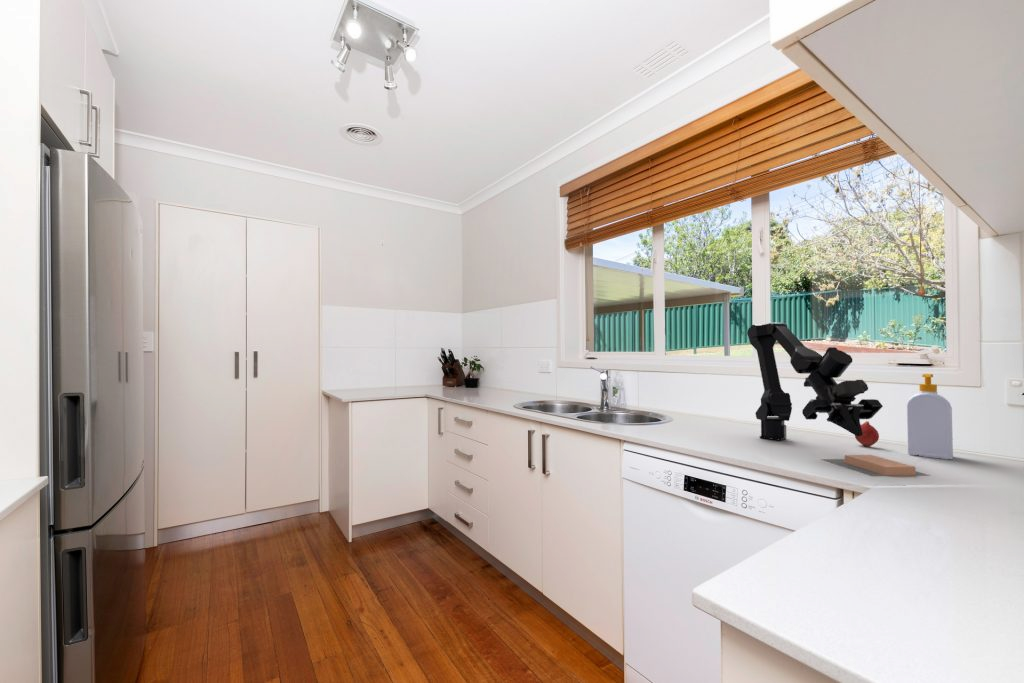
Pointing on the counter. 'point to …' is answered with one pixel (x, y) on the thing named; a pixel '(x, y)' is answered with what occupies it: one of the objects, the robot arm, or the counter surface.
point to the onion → (868, 435)
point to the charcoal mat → (842, 463)
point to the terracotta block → (880, 465)
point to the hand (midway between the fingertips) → (860, 435)
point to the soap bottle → (929, 423)
